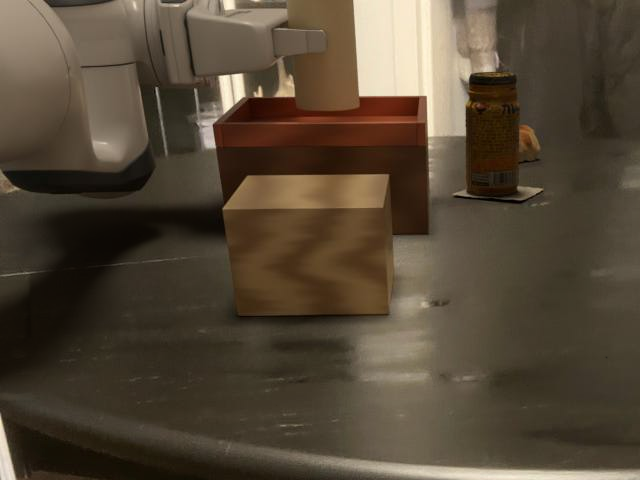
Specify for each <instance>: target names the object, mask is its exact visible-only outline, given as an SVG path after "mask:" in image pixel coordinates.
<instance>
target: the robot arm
mask: <svg viewBox="0 0 640 480" xmlns="http://www.w3.org/2000/svg"><path fill="white" fill-rule="evenodd" d="M327 48H328V42H327V33H326V31H324V30H298V29H289V26H288V15H287V8H234V9H233V8H232V9H225V6H224V4H223V2H222V0H0V171H1V174H3V175H4V177H5V178H6V179H7V180H8V181H9V182H10V184H11V185H12V186H14V187H15V188H17V189H20V190H22V191H25V192H30V193H35V194H47V195H77V196H80V197H84V198H88V199H95V200H112V199H120V198H123V197H127V196H130V195H133V194H134V193H135V192H139V191H142V189H143V188H144V187H145V186H146V185H147V183H148V182H149V180H150V179H151V177H152V176H153V174H154V171H155V169H156V168H157V162H156V158H155V155H154V150H153V146H152V145H153V144H152V141H151V138H150V134H149V132H148V126H147V122H146V116H145V110H144V105H143V99H142V93H141V87H140V85H147V86H152V87H155V88H158V89H165V90H166V89H167V90H169V89H170V90H174V89H175V90H177V89H179V90H180V89H181V90H182V89H183V90H184V89H185V90H187V89H188V90H189V89H190V90H191V89H192V90H193V89H195V90H199V89H200V90H201V89H202V90H204V89H206V90H207V89H208V90H211V89H213V88H215V85H216V83H217V78H218V77H223V76H224V77H225V76H231V75H241V74H242V75H243V74H249V73H255V72H260V71H265V70H268V69H270V68H271V67H272V66H274V65H275V64H276V63H278V62H279V61H281V60H282V59H283V58H285V57H287V56H288V57H289V56H290V57H291V55H297V54H305V53H323V52H325V51H326V50H327Z"/></svg>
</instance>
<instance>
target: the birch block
mask: <svg viewBox="0 0 640 480" xmlns="http://www.w3.org/2000/svg"><path fill="white" fill-rule="evenodd" d="M221 211H222V217H223V223H224V224H223V225H224V231H225V238H226V245H227V251H228V257H229V258H228V259H229V264H230V271H231V278H232V279H231V280H232V286H233V293H234V298H235V305H236V312H237V316H238V317H264V316H265V317H268V316H272V317H275V316H276V317H277V316H278V317H279V316H344V315H345V316H347V315H348V316H349V315H353V316H355V315H389V314H390V312H391V311H390V309H391V302H392V293H393V286H394V278H395V277H394V276H395V257H394V236H393V235H394V234H392V216H391V196H390V177H389V174H373V175H261V176H247V177H246V178H245V180H244V181H243V182H242V184H241V185H240V186H239V187H238V189H237V190H236V191H235V193H234V194H233V195H232V197H231V198H230V199H229V201H228V202H227V203H226V205H225V206H224V205H223V207H222V209H221Z"/></svg>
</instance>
